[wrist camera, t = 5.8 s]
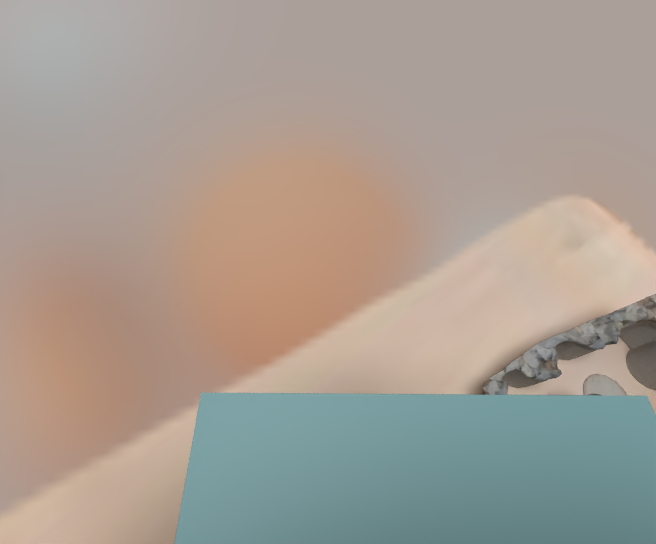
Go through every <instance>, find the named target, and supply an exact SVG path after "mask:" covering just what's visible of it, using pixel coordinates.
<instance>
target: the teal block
mask: <svg viewBox="0 0 656 544" xmlns="http://www.w3.org/2000/svg"><path fill="white" fill-rule="evenodd" d="M174 544H656V415H655V413H654V411H653V408H652V406H651V404H650V402H649V399H648V397H647V396H606V395H458V394H310V393H201V396H200V402H199V407H198V413H197V419H196V424H195V430H194V436H193V441H192V447H191V453H190V458H189V464H188V469H187V475H186V481H185V486H184V492H183V498H182V503H181V509H180V515H179V520H178V526H177V531H176V537H175V543H174Z"/></svg>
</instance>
